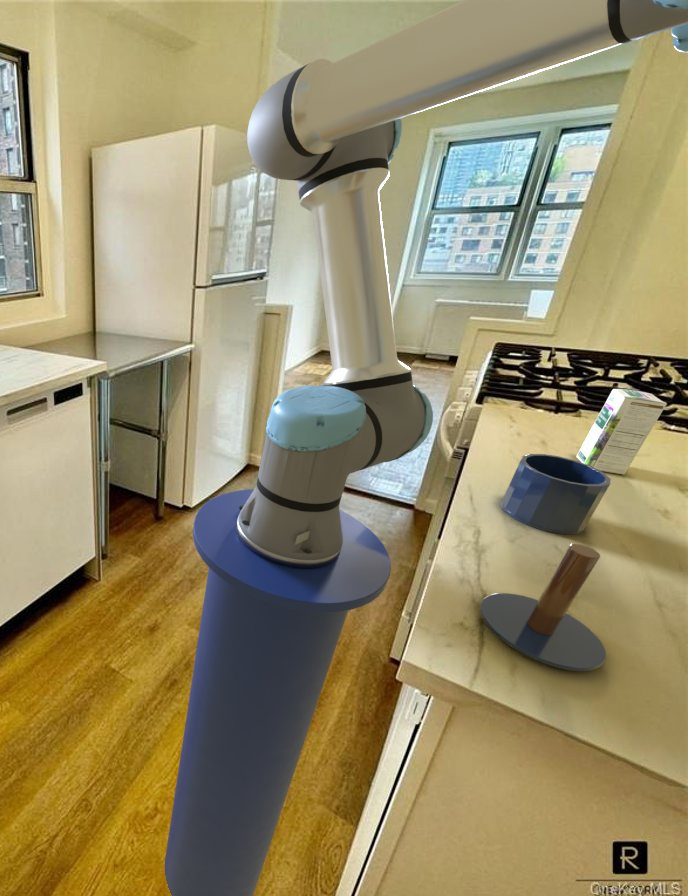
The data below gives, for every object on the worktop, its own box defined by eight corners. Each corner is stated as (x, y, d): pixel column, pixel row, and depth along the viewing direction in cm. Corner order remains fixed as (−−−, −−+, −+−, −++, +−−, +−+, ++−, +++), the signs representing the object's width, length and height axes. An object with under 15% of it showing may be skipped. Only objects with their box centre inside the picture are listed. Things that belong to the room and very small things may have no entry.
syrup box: (574, 456, 96) (610, 387, 89) (614, 463, 94) (653, 392, 87) (584, 468, 91) (623, 396, 85) (626, 475, 89) (669, 402, 82)
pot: (495, 514, 77) (516, 468, 74) (505, 491, 84) (526, 448, 80) (581, 543, 71) (609, 494, 67) (585, 515, 77) (611, 469, 74)
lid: (468, 633, 56) (510, 550, 50) (486, 586, 63) (524, 508, 57) (599, 694, 49) (664, 605, 43) (603, 634, 56) (659, 551, 50)
